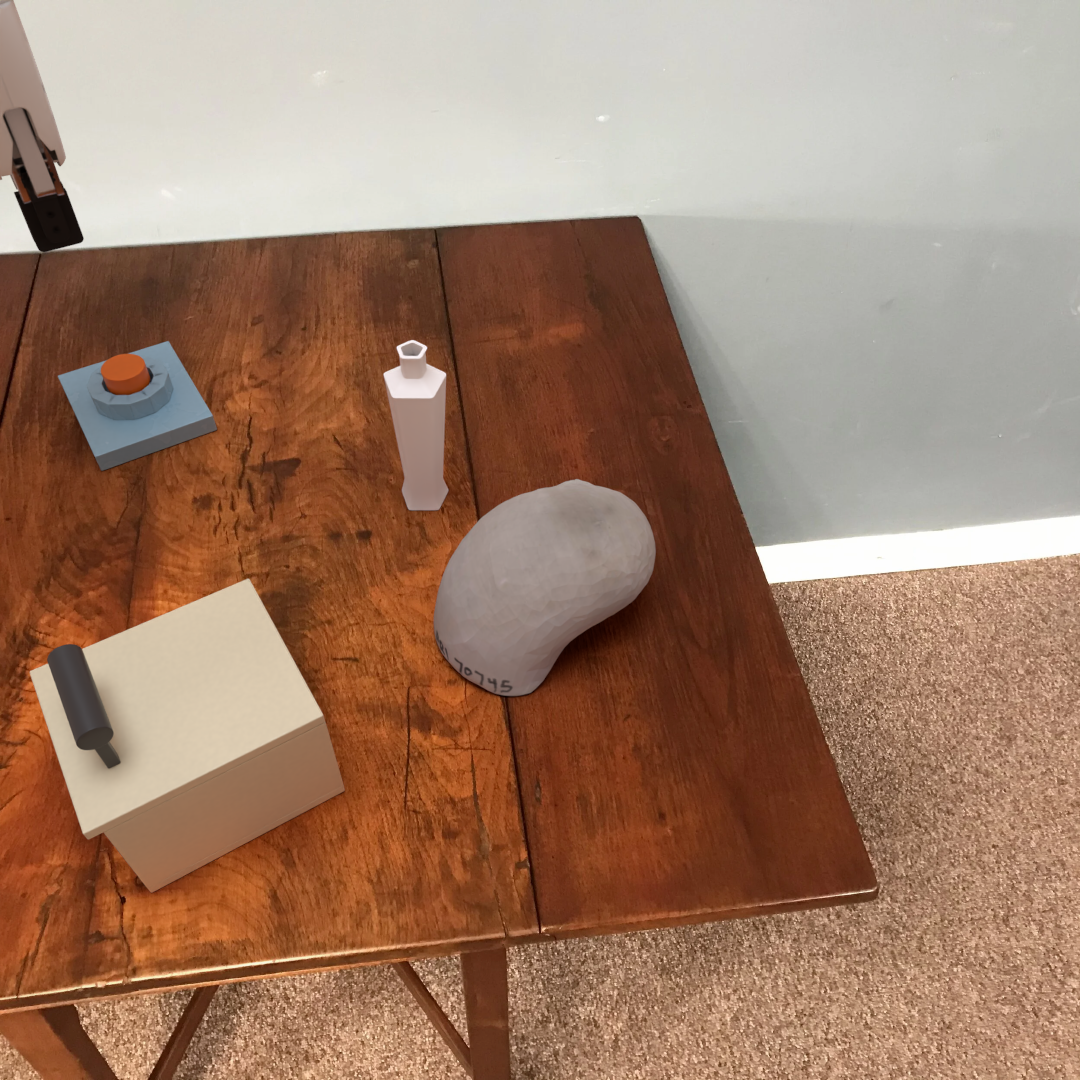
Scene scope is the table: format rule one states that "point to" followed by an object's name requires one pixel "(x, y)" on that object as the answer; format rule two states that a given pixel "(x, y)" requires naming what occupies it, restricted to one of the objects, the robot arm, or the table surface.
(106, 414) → the box
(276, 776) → the chest
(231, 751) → the lid
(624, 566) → the grey rounded lump
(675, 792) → the table surface
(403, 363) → the perfume bottle
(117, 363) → the button
